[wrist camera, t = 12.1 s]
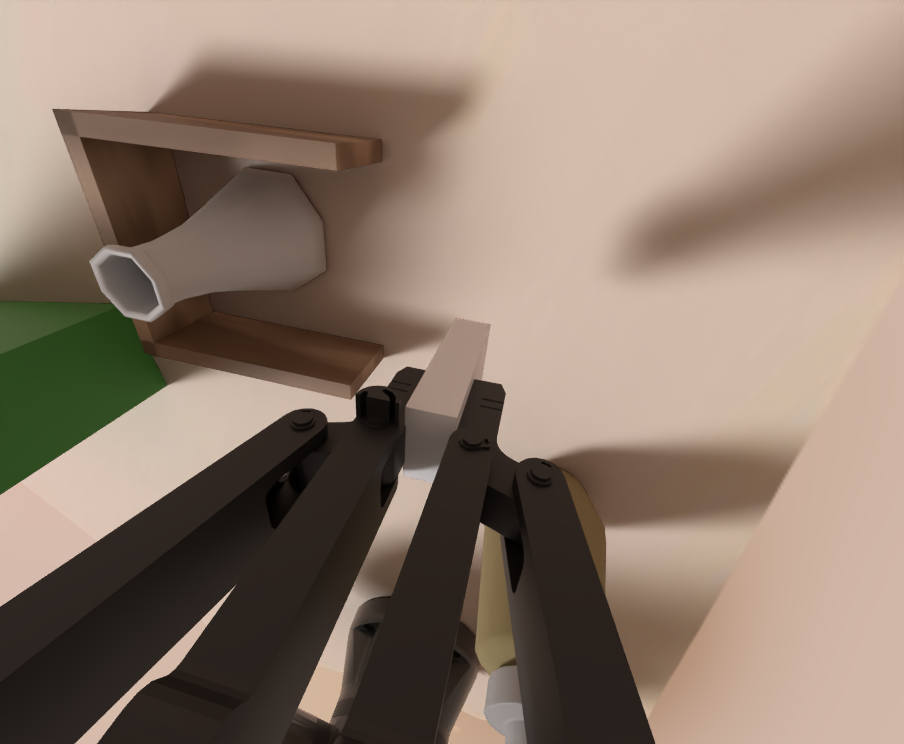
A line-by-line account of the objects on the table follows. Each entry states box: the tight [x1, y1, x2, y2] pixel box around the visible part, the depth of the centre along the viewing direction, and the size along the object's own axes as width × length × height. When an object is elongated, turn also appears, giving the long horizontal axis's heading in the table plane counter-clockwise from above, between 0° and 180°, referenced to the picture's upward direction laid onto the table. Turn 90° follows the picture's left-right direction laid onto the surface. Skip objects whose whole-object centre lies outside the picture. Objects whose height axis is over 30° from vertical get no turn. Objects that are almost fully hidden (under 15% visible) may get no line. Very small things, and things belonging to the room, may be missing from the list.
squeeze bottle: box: [475, 469, 606, 744], centre depth 23 cm, size 8×8×18 cm
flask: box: [89, 167, 327, 322], centre depth 20 cm, size 7×7×10 cm
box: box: [52, 109, 383, 400], centre depth 23 cm, size 13×14×5 cm
